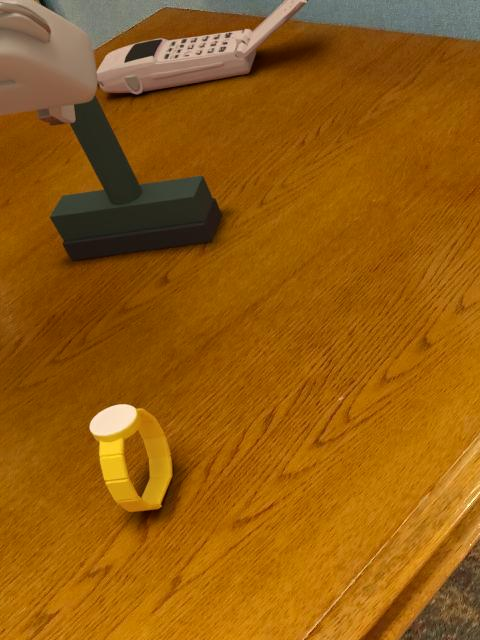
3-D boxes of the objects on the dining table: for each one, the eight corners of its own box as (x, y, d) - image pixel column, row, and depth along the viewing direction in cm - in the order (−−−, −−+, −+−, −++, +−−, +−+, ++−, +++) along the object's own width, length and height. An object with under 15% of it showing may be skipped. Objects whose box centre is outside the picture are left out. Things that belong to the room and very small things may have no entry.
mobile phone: (306, 1, 95) (55, 45, 97) (325, 64, 99) (84, 105, 101) (313, -22, 99) (72, 20, 101) (330, 39, 103) (99, 79, 105)
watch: (167, 527, 59) (120, 455, 55) (123, 531, 59) (73, 461, 55) (190, 455, 63) (148, 383, 58) (148, 460, 63) (103, 389, 59)
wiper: (71, 261, 81) (-11, 120, 72) (86, 233, 84) (8, 94, 75) (212, 242, 80) (145, 95, 71) (222, 214, 82) (159, 70, 74)
